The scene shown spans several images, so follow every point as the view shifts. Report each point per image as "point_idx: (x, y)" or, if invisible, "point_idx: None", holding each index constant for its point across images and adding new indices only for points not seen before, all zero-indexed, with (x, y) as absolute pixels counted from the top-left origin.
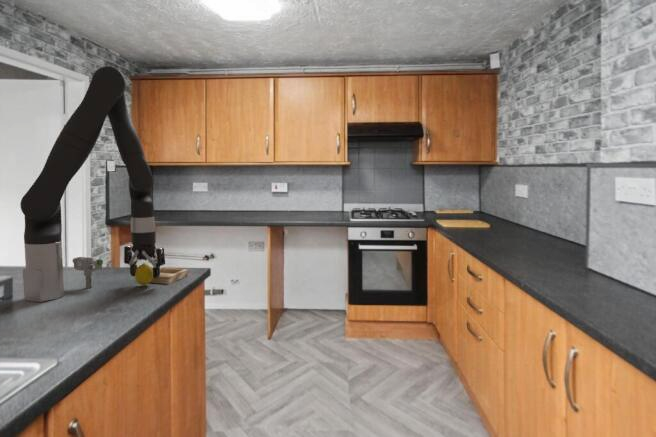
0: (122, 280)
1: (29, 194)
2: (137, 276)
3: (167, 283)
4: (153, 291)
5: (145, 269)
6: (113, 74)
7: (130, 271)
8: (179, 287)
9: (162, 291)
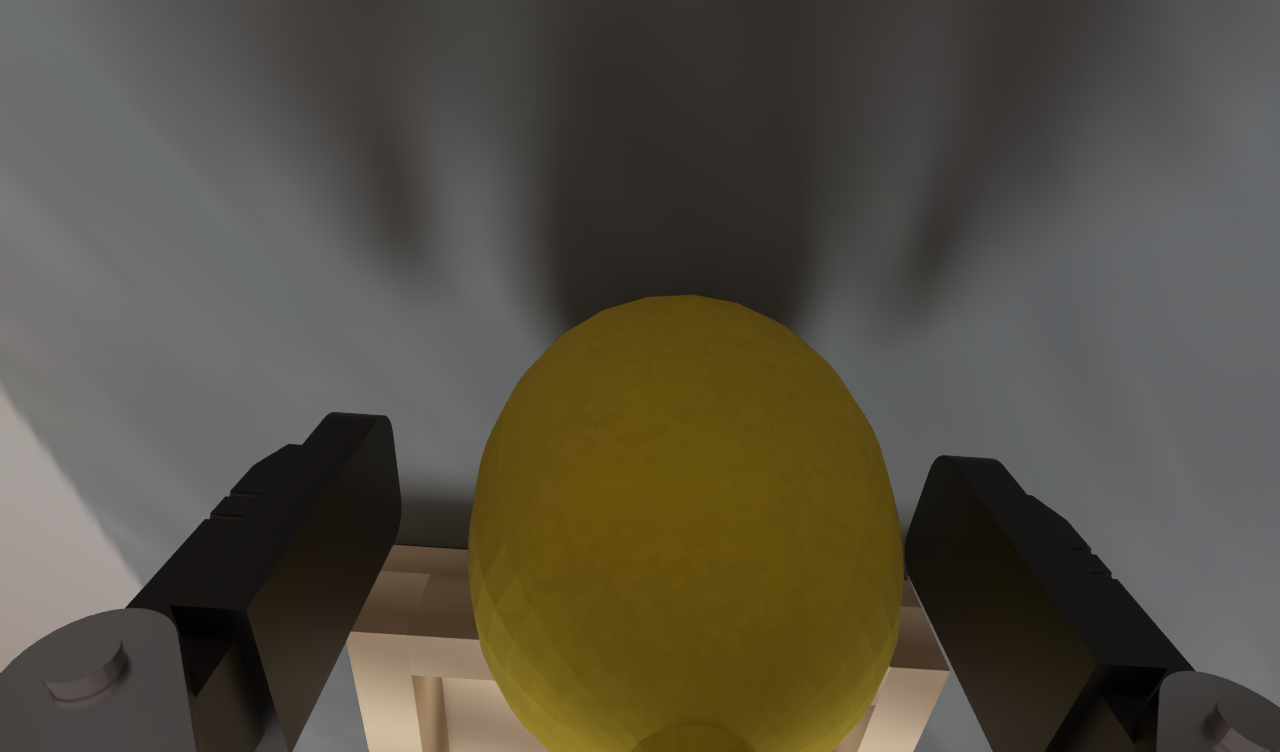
0: (1188, 567)
1: None
2: (744, 335)
3: (410, 548)
4: (283, 104)
5: (528, 537)
6: None
7: (1082, 551)
8: (83, 423)
9: (125, 146)
